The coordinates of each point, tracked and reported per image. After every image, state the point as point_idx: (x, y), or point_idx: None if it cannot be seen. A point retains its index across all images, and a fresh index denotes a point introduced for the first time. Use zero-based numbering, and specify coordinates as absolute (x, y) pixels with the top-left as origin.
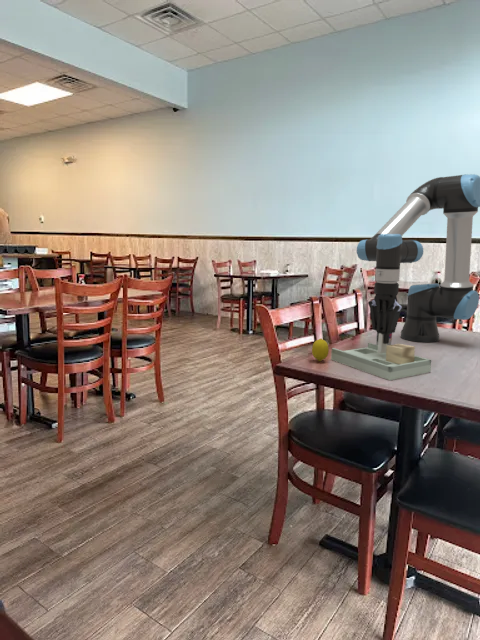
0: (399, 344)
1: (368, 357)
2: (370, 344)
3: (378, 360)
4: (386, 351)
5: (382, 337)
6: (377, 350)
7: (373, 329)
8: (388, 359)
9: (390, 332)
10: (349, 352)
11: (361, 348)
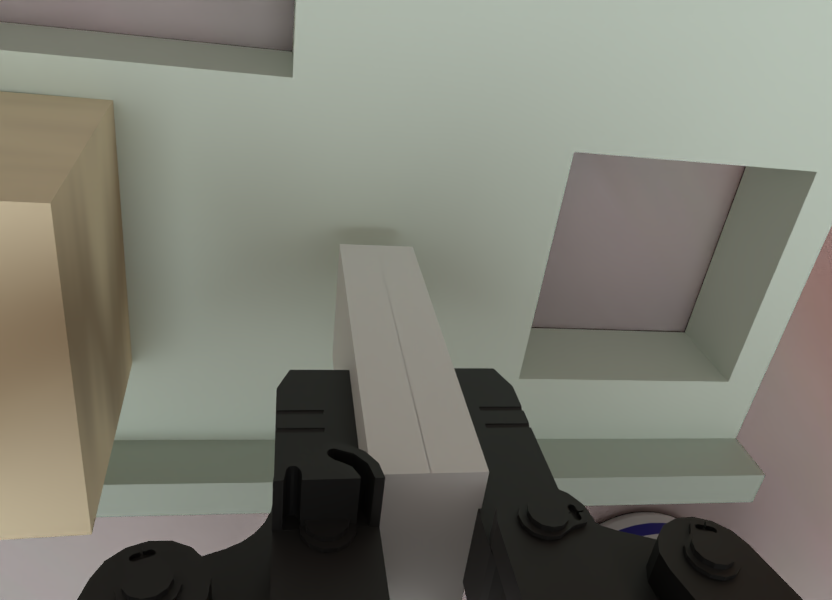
0: (17, 484)
1: (422, 19)
2: (720, 470)
3: (251, 69)
4: (77, 155)
5: (360, 429)
6: (573, 426)
7: (699, 522)
8: (47, 105)
9: (98, 593)
10: (808, 11)
11: (769, 340)
